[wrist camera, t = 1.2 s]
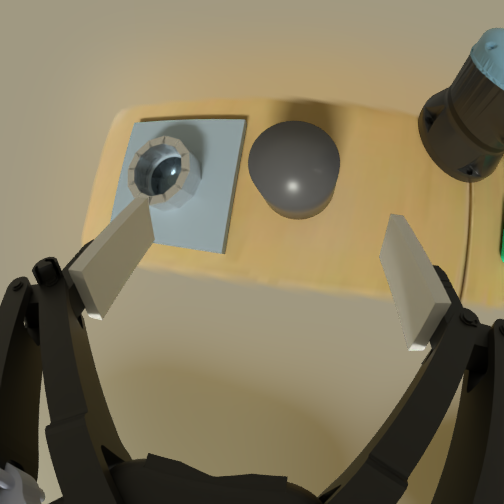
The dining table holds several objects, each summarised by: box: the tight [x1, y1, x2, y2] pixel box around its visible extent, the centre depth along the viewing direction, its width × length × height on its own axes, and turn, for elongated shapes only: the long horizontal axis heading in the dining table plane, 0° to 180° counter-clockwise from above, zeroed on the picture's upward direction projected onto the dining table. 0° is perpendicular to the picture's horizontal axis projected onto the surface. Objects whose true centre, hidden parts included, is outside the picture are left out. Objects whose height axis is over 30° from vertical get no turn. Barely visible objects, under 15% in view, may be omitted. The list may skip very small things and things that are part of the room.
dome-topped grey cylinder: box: [248, 121, 340, 220], centre depth 34 cm, size 9×9×12 cm
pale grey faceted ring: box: [128, 136, 202, 211], centre depth 40 cm, size 10×10×4 cm
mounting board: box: [110, 119, 247, 254], centre depth 43 cm, size 20×20×2 cm
